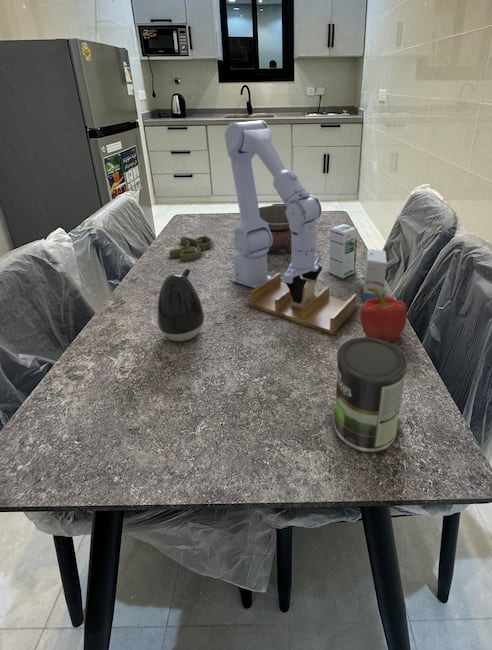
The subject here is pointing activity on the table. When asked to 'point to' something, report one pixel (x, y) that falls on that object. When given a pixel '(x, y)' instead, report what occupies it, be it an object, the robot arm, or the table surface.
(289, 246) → the cooking pot
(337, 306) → the dish rack
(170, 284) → the black rounded egg shape
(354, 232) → the syrup box
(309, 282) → the block
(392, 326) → the vegetable
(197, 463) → the table surface
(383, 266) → the ink box
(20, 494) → the table surface
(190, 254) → the cookie cutter
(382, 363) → the coffee can
